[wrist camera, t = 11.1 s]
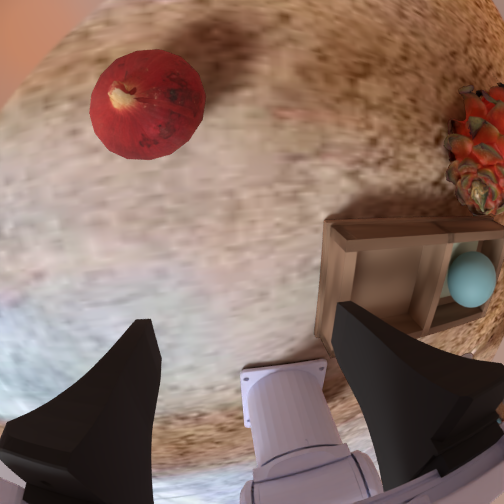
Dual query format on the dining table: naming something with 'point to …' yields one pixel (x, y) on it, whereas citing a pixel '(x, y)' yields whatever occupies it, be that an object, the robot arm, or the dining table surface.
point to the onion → (147, 104)
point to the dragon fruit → (478, 151)
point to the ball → (471, 279)
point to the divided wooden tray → (401, 270)
